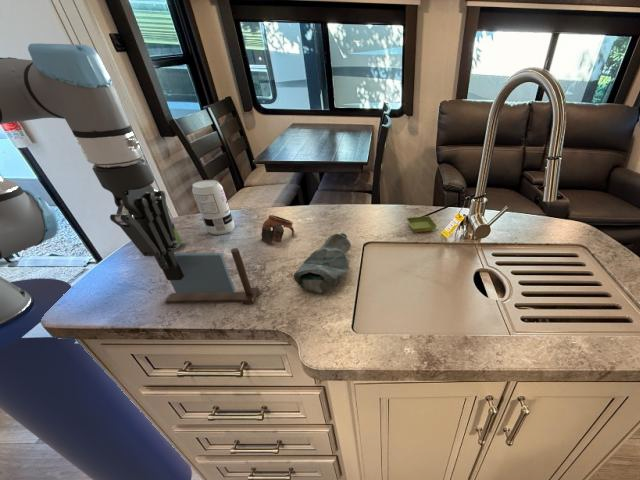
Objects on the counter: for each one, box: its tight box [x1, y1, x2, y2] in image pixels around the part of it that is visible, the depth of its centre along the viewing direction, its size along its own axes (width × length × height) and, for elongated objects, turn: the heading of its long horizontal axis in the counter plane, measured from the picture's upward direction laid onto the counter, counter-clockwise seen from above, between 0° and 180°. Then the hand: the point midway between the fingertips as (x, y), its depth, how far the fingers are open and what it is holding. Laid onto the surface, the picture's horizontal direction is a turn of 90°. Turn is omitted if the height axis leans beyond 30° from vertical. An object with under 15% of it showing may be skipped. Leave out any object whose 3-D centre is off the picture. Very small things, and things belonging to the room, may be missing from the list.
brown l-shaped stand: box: [165, 247, 260, 305], centre depth 72 cm, size 20×5×13 cm, turn 94°
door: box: [165, 252, 236, 293], centre depth 71 cm, size 13×2×10 cm, turn 94°
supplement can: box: [191, 179, 235, 236], centre depth 100 cm, size 8×8×15 cm
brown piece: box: [261, 214, 295, 245], centre depth 99 cm, size 12×10×8 cm
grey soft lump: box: [293, 233, 352, 294], centre depth 85 cm, size 13×7×25 cm
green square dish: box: [406, 215, 438, 233], centre depth 109 cm, size 9×9×2 cm
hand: (176, 278), depth 68 cm, fingers closed
